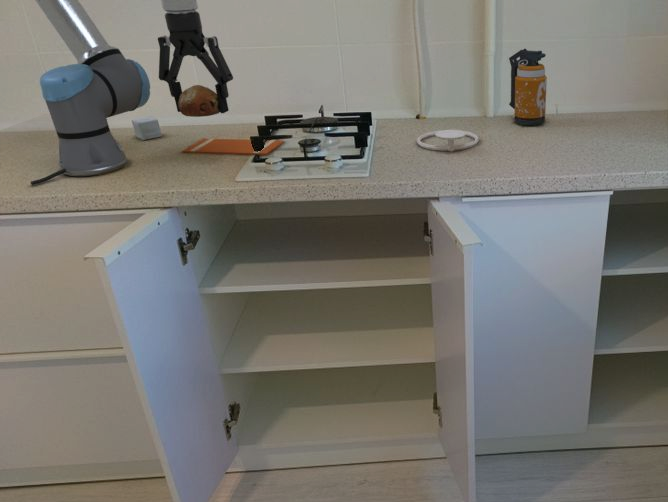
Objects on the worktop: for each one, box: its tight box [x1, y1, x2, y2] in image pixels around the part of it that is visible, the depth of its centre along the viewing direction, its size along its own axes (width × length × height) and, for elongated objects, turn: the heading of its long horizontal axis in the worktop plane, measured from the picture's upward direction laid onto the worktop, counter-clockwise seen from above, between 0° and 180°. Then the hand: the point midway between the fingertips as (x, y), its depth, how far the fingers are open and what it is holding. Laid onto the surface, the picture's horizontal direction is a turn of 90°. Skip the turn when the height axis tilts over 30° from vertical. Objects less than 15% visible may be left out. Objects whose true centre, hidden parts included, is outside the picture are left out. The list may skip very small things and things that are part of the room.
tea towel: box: [181, 137, 285, 156], centre depth 182 cm, size 12×24×1 cm, turn 81°
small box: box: [131, 116, 163, 141], centre depth 192 cm, size 6×6×5 cm
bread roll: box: [178, 84, 221, 118], centre depth 164 cm, size 10×10×8 cm
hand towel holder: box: [416, 129, 480, 153], centre depth 179 cm, size 17×4×21 cm
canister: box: [508, 48, 548, 127], centre depth 192 cm, size 9×11×20 cm
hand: (203, 111), depth 165 cm, fingers closed on bread roll, 11 cm apart
